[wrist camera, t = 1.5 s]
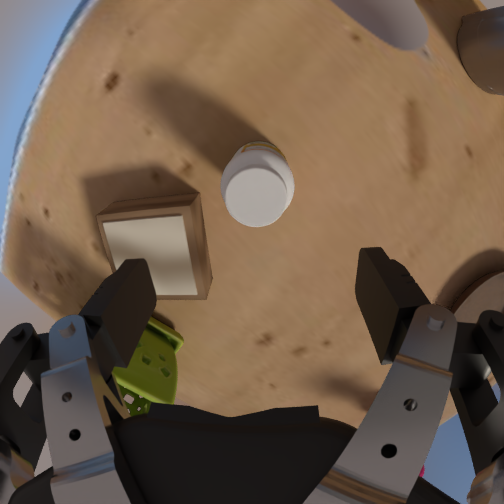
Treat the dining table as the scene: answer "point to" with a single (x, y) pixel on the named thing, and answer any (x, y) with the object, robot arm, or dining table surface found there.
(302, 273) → the dining table surface
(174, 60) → the dining table surface
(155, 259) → the pedestal
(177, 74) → the dining table surface
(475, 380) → the robot arm
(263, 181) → the supplement bottle
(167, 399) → the flower pot
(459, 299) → the plant saucer
